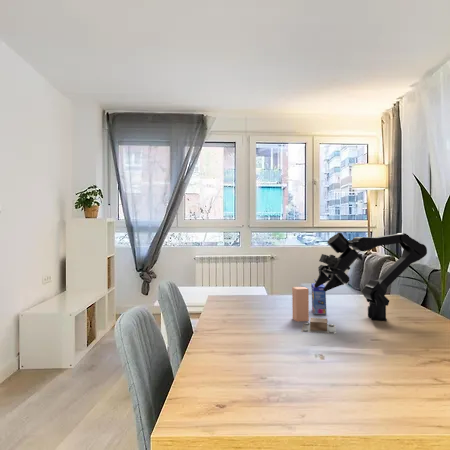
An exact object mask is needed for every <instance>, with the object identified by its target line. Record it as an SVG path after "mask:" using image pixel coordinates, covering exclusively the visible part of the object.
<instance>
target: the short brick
mask: <svg viewBox="0 0 450 450" xmlns="http://www.w3.org/2000/svg"><path fill="white" fill-rule="evenodd" d="M309 324H310V330H319V331H327V325H328V318H322V317H321V318H320V317H310V320H309Z"/></svg>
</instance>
